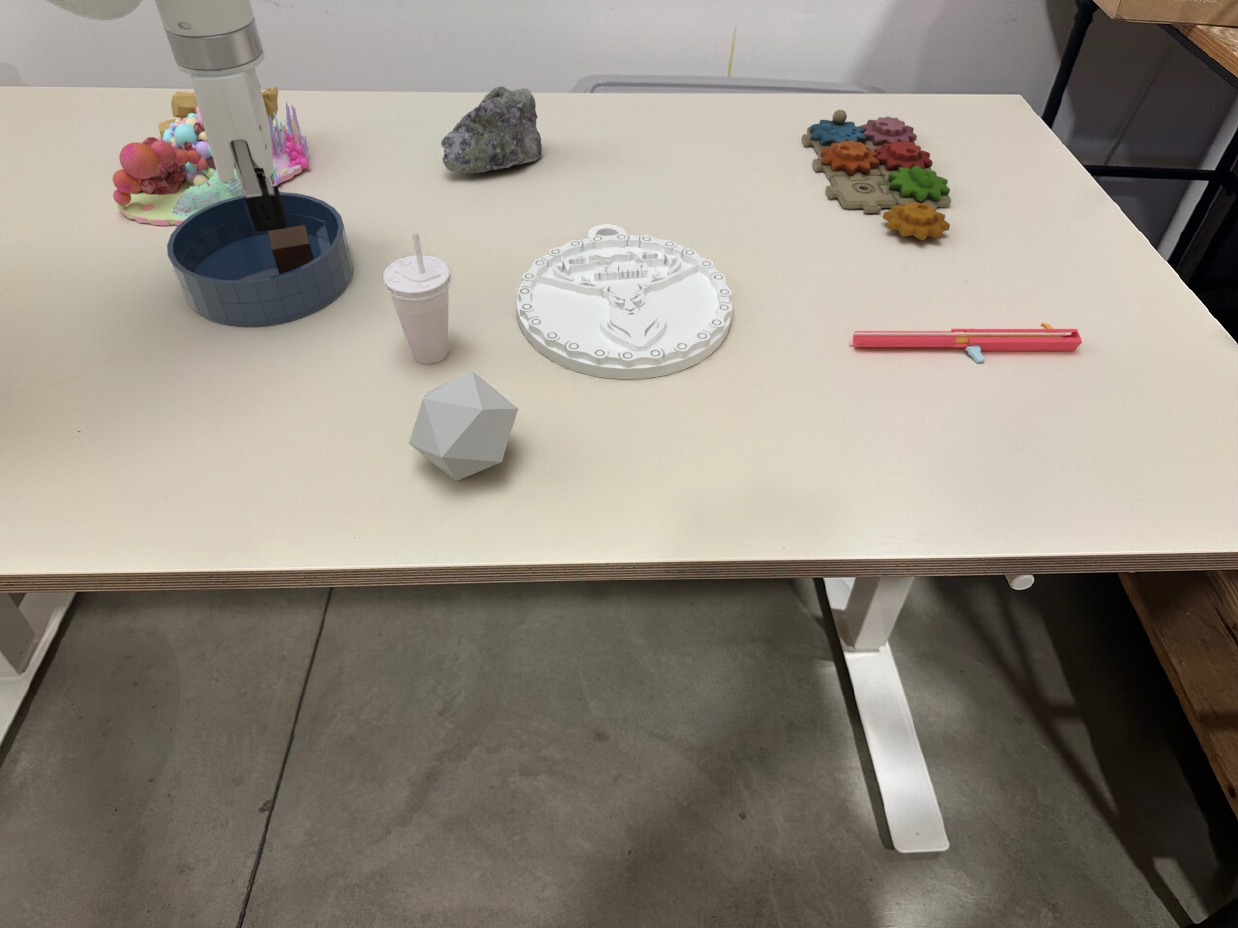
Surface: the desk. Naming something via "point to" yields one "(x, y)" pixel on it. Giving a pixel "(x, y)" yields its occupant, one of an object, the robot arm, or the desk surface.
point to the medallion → (624, 305)
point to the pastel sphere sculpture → (194, 165)
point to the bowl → (258, 263)
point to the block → (290, 248)
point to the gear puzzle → (881, 172)
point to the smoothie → (421, 302)
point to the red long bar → (974, 340)
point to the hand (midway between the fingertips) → (271, 225)
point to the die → (463, 426)
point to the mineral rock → (495, 134)
